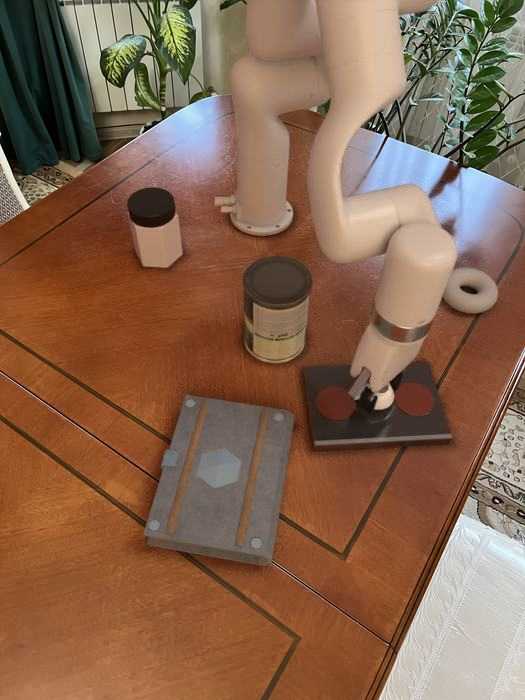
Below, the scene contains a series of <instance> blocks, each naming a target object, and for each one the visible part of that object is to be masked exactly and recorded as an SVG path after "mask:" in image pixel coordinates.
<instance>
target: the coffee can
mask: <svg viewBox="0 0 525 700" xmlns="http://www.w3.org/2000/svg"><path fill="white" fill-rule="evenodd" d="M313 282H314V280H313V275H312V273H311V271H310V270H309V268H308V267H307V266H306V265H305V264H304V263H303V262H301V261H299V260H296V259H295V258H292V257H289V256H284V255H269V256H265V257H264V256H263V257H262V258H259V259H256V260H255V261H253V262H252V263H251V264H249V266H247V268H246V269H245V271H244V273H243V276H242V287H243V316H244V317H243V319H244V320H243V321H244V322H243V323H244V326H243V328H244V336H243V341H244V342H243V343H244V346H245V349H246V350H247V352H248V353H250V355H251V356H252V357H254V358H255V359H257V360H259V361H262V362H264V363H269V364H282V363H287V362H289V361H291V360H293V359H296V357H298V356H299V355H300V354H301V352H302V351H303V349H304V347H305V344H306V334H307V333H306V332H307V325H308V317H309V309H310V302H311V301H310V299H311V294H312V293H311V292H312V289H313V284H314V283H313Z"/></svg>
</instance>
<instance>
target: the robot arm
mask: <svg viewBox="0 0 525 700" xmlns="http://www.w3.org/2000/svg"><path fill="white" fill-rule="evenodd" d="M246 1H247V2H246V10H245V19H244V39H245V44H246V47H247V49H248V51H249V53H250V54H247V55H244V56H242V57H240V58H238V59H237V60H236V61H235V62H234V64H233V65H232V66H231V68H230V71H229V76H228V77H229V78H228V79H229V80H228V82H229V91H230V96H231V101H232V106H233V113H234V121H235V138H236V139H235V140H236V142H235V143H236V145H235V147H236V187H237V188H236V189H235V191H234V194H230V196H224V195H223V196H214V197H213V199H214V207H217V208H219V207H220V213H221V214H229V217H230V221H231V223H232V224H233V226H234V227H235V228H237V229H238V230H239V231H241V232H242V233H245V234H248V235H251V236H258V237H267V236H273V235H276V234H279V233H282V232H283V231H285V230H286V229H287V228H289V227H290V225H291V224H292V222H293V218H294V209H293V206H292V205H291V203H290V202H289V201H288V200H287V191H288V176H289V175H288V174H289V162H290V161H289V159H290V147H291V146H290V142H291V140H290V133H289V130H288V128H287V126H286V125H285V123H284V122H283V121H282V120H281V118H280V117H279V116H281V115H283V114H289V113H292V112H295V111H301V110H307V109H313V108H316V107H320V106H322V105H324V104H326V103H327V102H328V101H329V100H330V103H329V108H328V111H327V113H326V115H325V117H324V119H323V120H322V122H321V125H320V127H319V128H318V131H317V133H316V135H315V137H314V140H313V143H312V145H311V146H312V147H311V150H310V154H309V158H308V163H307V173H306V189H307V194H308V195H307V196H308V201H309V207H310V213H311V220H312V223H313V225H312V226H313V229H314V232H315V237H316V242H317V244H318V246H319V249H320V250H321V252H322V254H323V255H324V256H325V257H326V258H327V259H328V261H331V262H334V263H336V264H349V263H355V262H358V261H359V262H360V261H362V260H366V259H370V258H374V257H378V256H382V255H385V256H384V260H383V264H382V268H381V271H380V276H379V279H378V283H377V287H376V291H375V295H374V299H373V302H372V306H371V311H370V314H369V324H368V325H367V327H366V328H365V330H364V332H363V333H362V336H361V338H360V339H359V342H358V344H357V347H356V350H355V353H354V356H353V359H352V362H351V364H350V365H351V369H350V375H352V376H353V377H354V378H355V377H357V376H358V375H359V374H360V375H359V377H358V378H357V380H356V382H355V383H354V385H353V386H352V388H351V389H350V391H349V392H348V395H349V396H350V397H351V398H353V399H354V400H355V402H356V403H357V405H358V406H359V407H360V408H361V409H363V410H366V411H367V412H368V413H369V414H371V413H372V412H373V411H374V408H375V405H376V402H377V399H378V397H377V396H376V395H377V393H378V391H379V390H381V389H382V388H383V387H384V386H385V385H386V384H388V383H389V384H390V386H391V387H392V389H393V391H396V390H397V389H398V388H399V385H400V382H401V380H402V377H403V374H402V373H403V372H404V371H405V370H406V369H407V365H409V364H410V363H411V362H414V360H415V359H416V357H417V356H418V354H419V353H420V350H421V348H422V345H423V343H424V340H425V339H426V338H427V336H428V335H429V332H430V330H431V327H432V325H433V322H434V320H435V317H436V314H437V311H438V309H439V307H440V304H441V301H442V299H443V297H442V296H443V294H444V291H445V288H446V286H447V283H448V281H449V278H450V276H451V273H452V271H453V269H455V265H456V263H457V259H458V252H459V251H458V245H457V242H456V240H455V239H454V237H453V235H451V234H450V232H448V231H447V230H446V229H444V228H442V225H441V223H440V221H439V219H438V216H437V213H436V211H435V209H434V206H433V203H432V201H431V198H430V197H429V195H428V193H426V191H425V189H423V187H421V186H419V185H418V184H414V183H403V184H398V185H393V186H389V187H385V188H381V189H375V190H370V191H366V192H363V193H358V194H353V195H348V196H343V191H342V182H341V181H342V179H341V174H342V173H341V172H342V163H343V159H344V156H345V153H346V150H347V148H348V146H349V144H350V142H351V141H352V139H353V137H354V136H355V135H356V133H357V132H358V131H359V129H361V128H362V126H364V125H365V123H367V122H368V121H369V120H370V119H371V118H372V117H373V116H375V115H377V114H378V113H379V112H381V111H382V110H384V109H385V108H387V107H388V106H390V105H391V104H393V103H394V102H396V101H397V100H398V99H399V98H400V97H401V96H402V95H403V94H404V93H405V91H406V88H407V84H408V81H407V80H408V79H407V72H406V71H407V70H406V64H405V57H404V56H405V55H404V48H403V39H402V32H401V24H400V23H401V22H400V16H404V15H405V16H406V15H410V14H411V15H412V14H419V13H423V12H426V11H428V10H429V9H431V8H432V7H434V5H436V3H437V2H438V1H439V0H246ZM367 384H370V387H372V388H371V389H372V390H371V389H370V388H368V387H367V386H366V385H367Z"/></svg>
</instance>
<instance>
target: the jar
mask: <svg viewBox="0 0 525 700" xmlns="http://www.w3.org/2000/svg"><path fill="white" fill-rule="evenodd" d="M126 206H127V207H126V208H127V218H128V223H129V227H130V231H131V236H132V237H131V238H132V241H133V246H134V251H135V254H136V255H137V257H138V259H139V261H140V263H141V265H142V267H146V268H147V267H148V268H163V269H168V268H169V267H170V266H172V264H173V263H175V262H176V261H177V260H178V259H179V258H180V257H182V256H183V254H184V253H183V244H182V237H181V228H180V220H179V219H180V218H179V215H178V213H177V210H176V209H177V207H176V202H175V197H174V195H173V194H172V193H171V192H170V191H169V190H167V189H164V188H162V187H158V186H157V187H156V186H151V187H144V188H140V189H138V190H135V191H134V192H132V193H131V194H130V195H129V197H128V198H127V201H126Z"/></svg>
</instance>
